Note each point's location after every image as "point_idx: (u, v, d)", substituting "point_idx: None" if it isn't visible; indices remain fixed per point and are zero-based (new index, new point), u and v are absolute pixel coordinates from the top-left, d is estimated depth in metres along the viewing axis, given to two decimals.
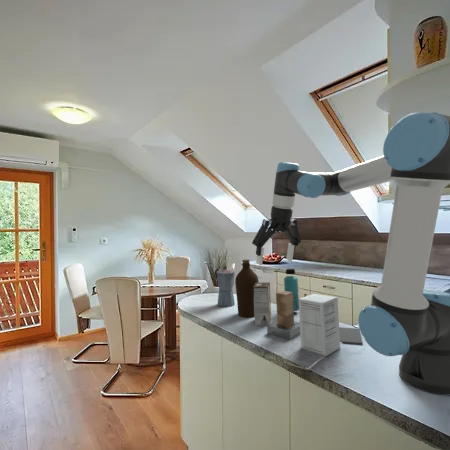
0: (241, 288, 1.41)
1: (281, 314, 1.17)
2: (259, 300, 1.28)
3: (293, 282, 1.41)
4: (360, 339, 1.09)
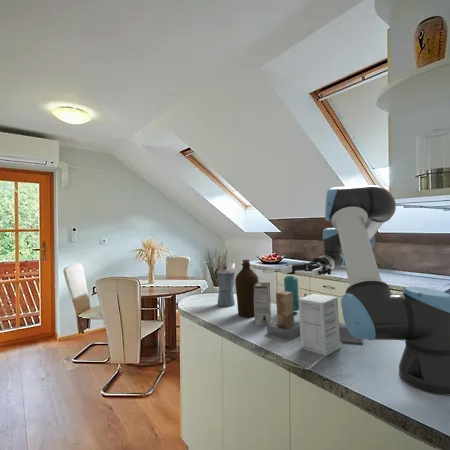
0: (241, 288, 1.41)
1: (281, 314, 1.17)
2: (259, 300, 1.28)
3: (293, 282, 1.41)
4: (360, 339, 1.09)
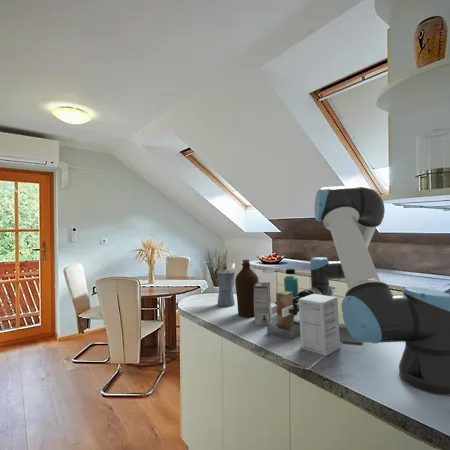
0: (241, 288, 1.41)
1: (281, 314, 1.17)
2: (259, 300, 1.28)
3: (293, 282, 1.41)
4: None
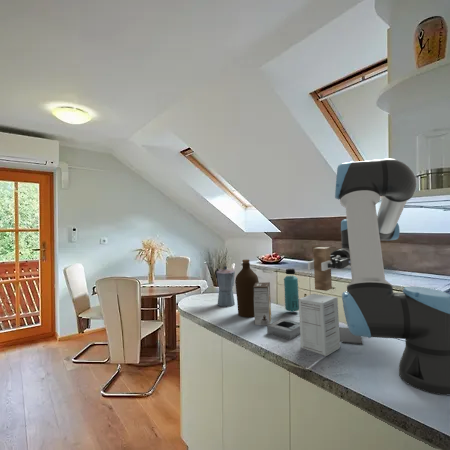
0: (241, 288, 1.41)
1: (319, 269, 1.14)
2: (259, 300, 1.28)
3: (293, 282, 1.41)
4: (360, 339, 1.09)
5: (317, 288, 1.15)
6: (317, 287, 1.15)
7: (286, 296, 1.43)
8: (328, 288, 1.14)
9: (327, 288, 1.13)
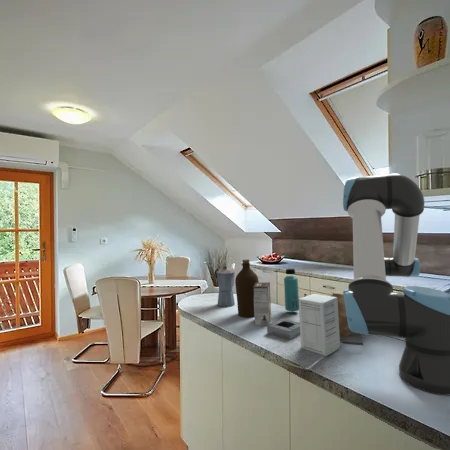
0: (241, 288, 1.41)
1: (339, 315, 1.13)
2: (259, 300, 1.28)
3: (293, 282, 1.41)
4: (360, 339, 1.09)
5: None
6: None
7: (286, 296, 1.43)
8: (348, 334, 1.12)
9: (346, 334, 1.12)
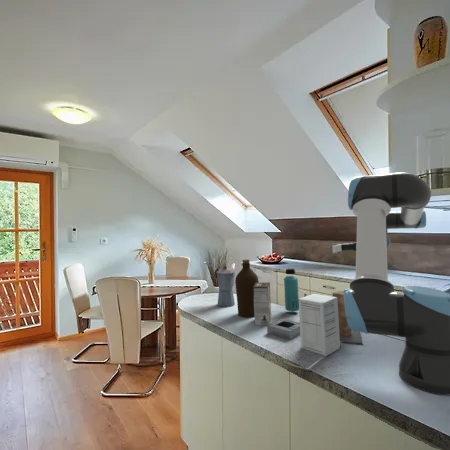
0: (241, 288, 1.41)
1: (339, 315, 1.13)
2: (259, 300, 1.28)
3: (293, 282, 1.41)
4: (360, 339, 1.09)
5: None
6: None
7: (286, 296, 1.43)
8: (348, 334, 1.12)
9: (346, 334, 1.12)
